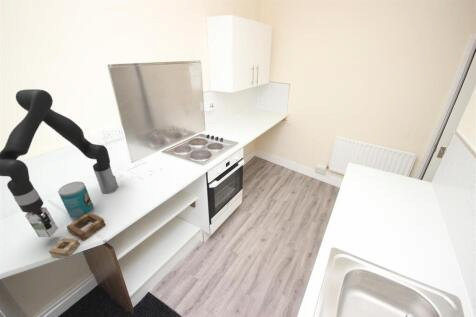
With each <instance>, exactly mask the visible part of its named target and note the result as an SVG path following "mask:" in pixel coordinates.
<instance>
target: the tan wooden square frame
mask: <svg viewBox="0 0 476 317" xmlns="http://www.w3.org/2000/svg"><path fill="white" fill-rule="evenodd" d="M79 240H80V239H79V238H69V237H62V238H61V239H59V241H58V242H56V243H55V245H54V246H52V247H51V248H50V250H48V253H49V254H50V256H51V257H52V256H53V257H55V258H62V259H68V258H69V257H70V256H71V255H72V254H73V253H74V251H76V250H77V249H78V247H79V246H80V245H81V243H80V241H79Z"/></svg>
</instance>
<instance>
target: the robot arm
mask: <svg viewBox="0 0 476 317" xmlns="http://www.w3.org/2000/svg"><path fill="white" fill-rule="evenodd" d="M15 100H16V102H17V104H18V105H19V106H20V107H21V108H22V109H23V110H25V111H26V112H27V113H26V115H25V116H24V118H23V119H22V120H21V121H20V122H19V123H18V124H17V125H16V126H15V127H14V128H13V129H12V130H11V132H10V134H9V136H8V138H7V141H6V143H5V145H4V147H3V149H2V150H0V177H9V178H10V180H9V181H8V182H7V184H6V185H7V186H6V187H7V188H8V190H9V192H10V194H12V197H13V199H14V201H15V202H16V204H17V205H18V207H19V208H20V210H21V211H22V212H23V213H26V214H27V213H28V212H29V213H31V212H33V213H32V215H34V214H36V215H38V216H39V217H40V220H39V219H37V220H38V221H41V223H42V224H43V225H44V227H45V229H46V230H48V229H50V228H51V227H52V226H51V224H50V222H51V220H50V218H49V217H48V215H47V213H46V212H44V211H42V209H40V208H41V207H43V205H44V200H43V199H42V198H41V196H40V195H39V194H40V193H39V192H38V190H37V189H36V188H35V187H34V185H33V183H32V182H31V180H30V174H29V168H28V166H27V164H26V163H25V162H24V161H23V160H20V159H18V158H19V157H22V156H26V155H27V154H28V152H29V150H30V147H31V144H32V142H33V139H34V136H35V135H36V132H37V131H38V130H39V128H40V126H41V124H42V123H43V122H44V124H45V125H47V126H49V127H50V128H51V129H52V130H54V131H55V132H56V133H57V134H58V135H60V136H61V137H62V138H64V140H66V141H68V142H69V143H70V144H72V145H73V146H74V147H76V148H77V150H79V151H80V152H81V154H83V155H84V156H85V157H86V158H88V159H91V160H95V161H96V162H95V163H94V164H93V165H92V169H93V171H94V175H95V177H96V179H97V182H98V186H99V188H100V192H101V193H102V194H105V195H106V194H107V195H108V194H112V193H115V192H116V191H117V189H118V188H119V185H118V181H117V178H116V175H114V174H113V171H112V167H111V159H110V156H109V152H108V148H107V147H106V146H105V145H103V144H95V143H92V142H90V141H89V140H88V139H87V138H86V137H85V134H84V131H83V129H82V128H81V127H80V126H79V125H78V124H77V123H76V122H75V121H74V120H73V119H70V118H68V116H64V115H63V114H61V113H59V112H56V111H54V110H53V109H52V106H53V104H54V103H53V101H54V100H53V97H52V95H51V94H50V93H49V92H48V91H46V90H45V89H44V90H43V89H39V88H38V89H37V88H36V89H30V88H29V89H21V90H18V91H17V92H16V93H15ZM45 220H46V221H45Z"/></svg>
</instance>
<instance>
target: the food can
mask: <svg viewBox="0 0 476 317" xmlns="http://www.w3.org/2000/svg"><path fill="white" fill-rule="evenodd" d="M57 193H58V195H59V197H60V199H61V201H62V203H63V205H64V208H65V209H66V211H67V214H68V216H69V218H71V219H72V220H74V221H76V220H77V219H79V218H81V217H82V216H84V215H85V214H87V213H89V212H90V213H92V214H93V213H94V211H95V210H94V209H95V206H94V203H93V202H92V199H91V197H90V193H89V192H88V190H87V187H86V184H85V183H84V182H83V181H73V182H69V183H66V184H64V185H62V186H61V187H60V188H59V189H58V190H57Z"/></svg>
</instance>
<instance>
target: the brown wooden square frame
mask: <svg viewBox="0 0 476 317" xmlns="http://www.w3.org/2000/svg"><path fill="white" fill-rule="evenodd" d="M90 222H91V224H90V225H89V226H87V227H85V226H86V225H87V224H89V223H90ZM84 227H85V228H84ZM102 227H103V228H104V227H106V222H105V219H104V218H102V217H101V216H98V215H96V214H94V213H93V212H92V213H90V212H89V213H87V214H85V215H84V216H82V217H81V218H79V219H77V220H74V221H73V222H71V223H70V224H68V225H66V228H67V231H68V233H70V234H71V235H72V236H75V237H76V238H77V239H78V240H81V241H84V242H85V241H86V240H87V239H89V238H90V237H92V236H93V235H95V233H97V232H98V231H100V230H101V229H103V228H102ZM81 228H84V229H83V230H81ZM99 229H100V230H99ZM97 230H98V231H97ZM96 231H97V232H96Z"/></svg>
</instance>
